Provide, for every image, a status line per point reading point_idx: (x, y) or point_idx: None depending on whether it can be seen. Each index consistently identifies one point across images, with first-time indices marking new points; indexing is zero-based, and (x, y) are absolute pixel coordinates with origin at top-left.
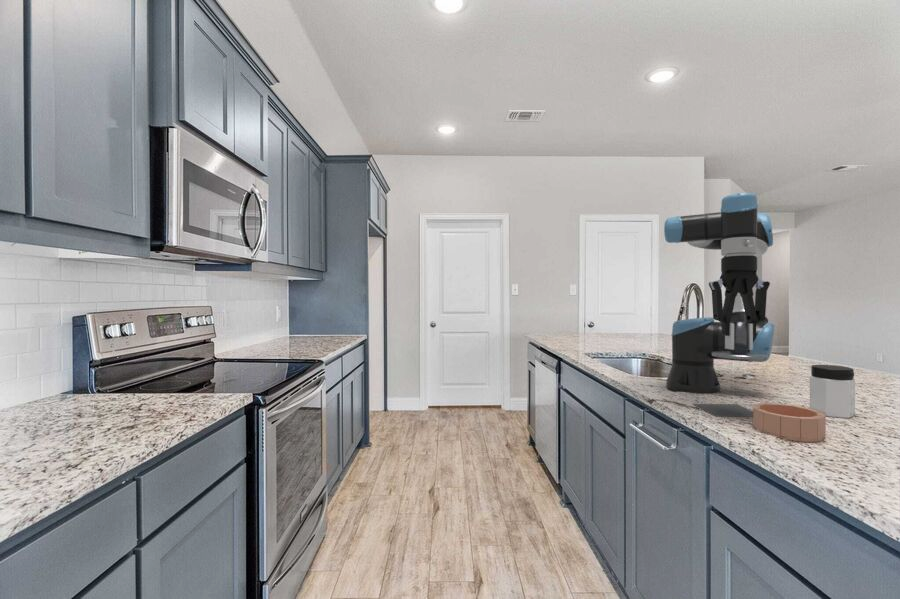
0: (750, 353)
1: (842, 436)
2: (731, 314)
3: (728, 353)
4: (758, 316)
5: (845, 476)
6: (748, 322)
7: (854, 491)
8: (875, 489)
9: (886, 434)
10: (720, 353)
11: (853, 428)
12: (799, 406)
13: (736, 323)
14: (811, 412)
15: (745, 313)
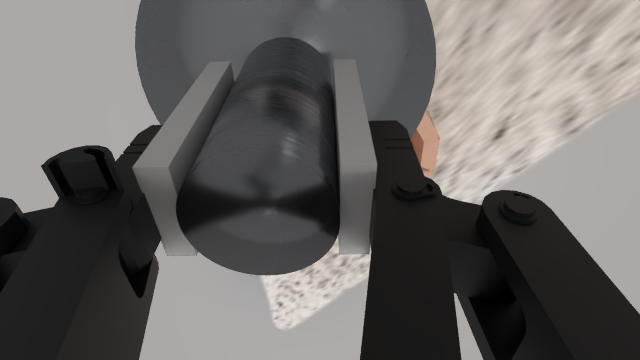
0: (384, 39)
1: (462, 140)
2: (136, 335)
3: (232, 69)
4: (472, 292)
5: (307, 280)
6: (374, 205)
7: (287, 304)
8: (314, 300)
9: (585, 119)
10: (180, 81)
11: (560, 79)
12: (428, 117)
13: (218, 253)
14: (420, 154)
15: (370, 268)
